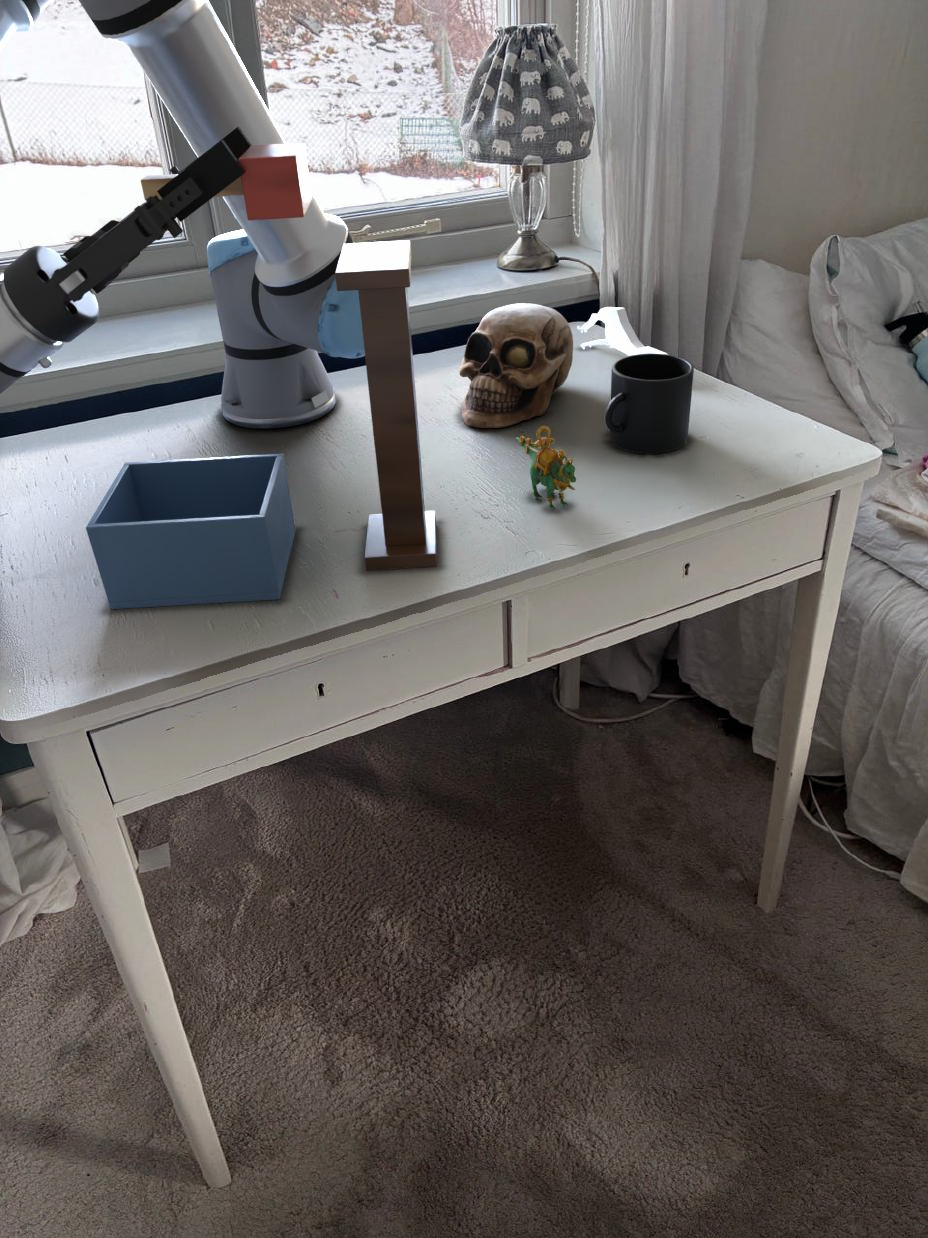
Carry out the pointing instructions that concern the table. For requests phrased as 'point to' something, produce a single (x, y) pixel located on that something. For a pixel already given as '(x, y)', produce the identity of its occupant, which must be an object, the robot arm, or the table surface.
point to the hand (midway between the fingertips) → (241, 148)
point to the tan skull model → (515, 364)
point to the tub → (194, 531)
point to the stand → (391, 404)
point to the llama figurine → (617, 332)
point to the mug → (650, 403)
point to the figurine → (548, 467)
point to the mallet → (262, 182)
